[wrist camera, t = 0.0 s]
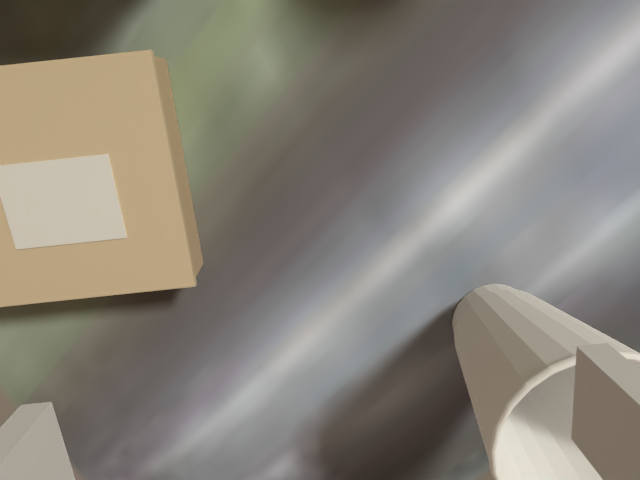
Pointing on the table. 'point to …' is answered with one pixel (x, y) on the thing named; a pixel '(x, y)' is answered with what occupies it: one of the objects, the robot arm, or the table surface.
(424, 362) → the table surface
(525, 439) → the cup
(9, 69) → the lid
